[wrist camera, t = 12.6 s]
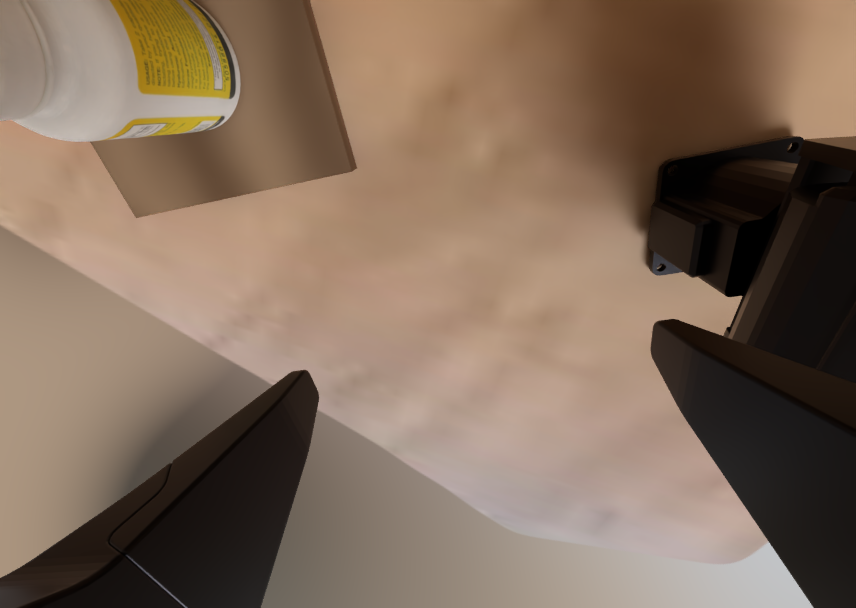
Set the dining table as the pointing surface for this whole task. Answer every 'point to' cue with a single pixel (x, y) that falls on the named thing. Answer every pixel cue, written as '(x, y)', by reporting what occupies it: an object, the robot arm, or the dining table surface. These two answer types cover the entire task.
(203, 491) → the robot arm
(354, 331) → the dining table surface
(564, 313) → the dining table surface
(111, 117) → the supplement bottle
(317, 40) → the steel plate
